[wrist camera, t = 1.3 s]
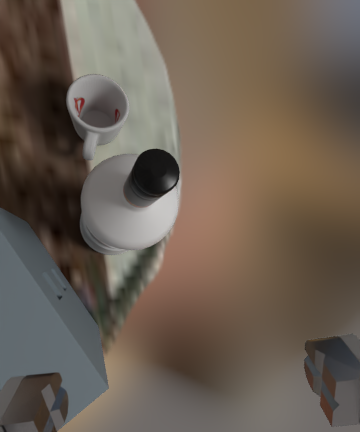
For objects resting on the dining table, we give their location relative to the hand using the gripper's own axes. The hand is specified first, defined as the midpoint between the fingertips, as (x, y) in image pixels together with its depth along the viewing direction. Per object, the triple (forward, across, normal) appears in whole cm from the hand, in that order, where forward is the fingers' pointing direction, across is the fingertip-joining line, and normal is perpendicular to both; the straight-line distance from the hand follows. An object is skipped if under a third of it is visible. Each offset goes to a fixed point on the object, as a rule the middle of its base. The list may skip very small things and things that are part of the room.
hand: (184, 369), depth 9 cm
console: (+27, +20, +13) cm, 36 cm away
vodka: (+34, +10, +7) cm, 36 cm away
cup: (+40, +11, -6) cm, 42 cm away
